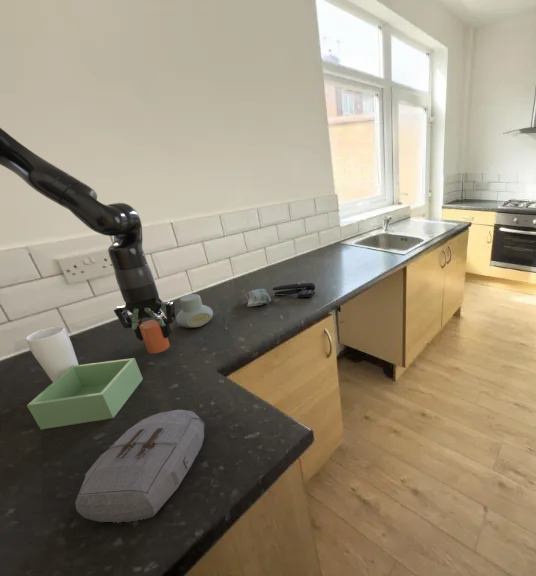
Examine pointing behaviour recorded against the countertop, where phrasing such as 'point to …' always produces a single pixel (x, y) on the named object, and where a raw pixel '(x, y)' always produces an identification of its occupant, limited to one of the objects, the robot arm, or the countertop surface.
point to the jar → (153, 337)
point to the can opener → (297, 289)
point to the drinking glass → (52, 350)
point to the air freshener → (193, 312)
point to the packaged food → (257, 297)
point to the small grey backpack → (141, 468)
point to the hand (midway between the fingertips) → (155, 337)
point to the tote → (86, 393)
